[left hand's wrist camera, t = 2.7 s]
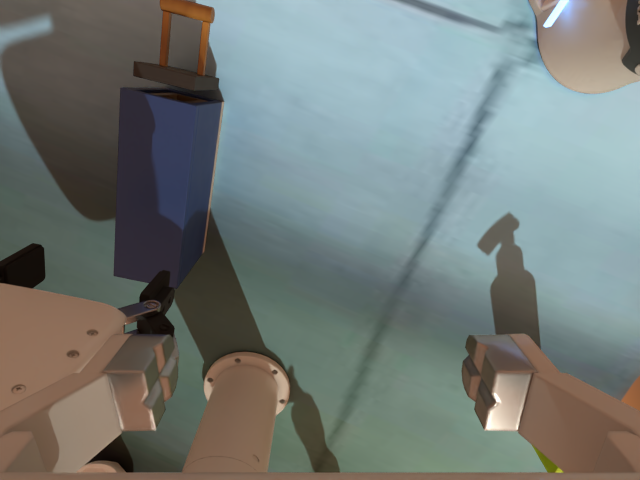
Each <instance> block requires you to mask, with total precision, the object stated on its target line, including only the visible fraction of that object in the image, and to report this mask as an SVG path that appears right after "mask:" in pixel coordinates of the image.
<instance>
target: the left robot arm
mask: <svg viewBox="0 0 640 480" xmlns="http://www.w3.org/2000/svg"><path fill="white" fill-rule="evenodd" d="M529 3H530V5H531V7H532V9H533V11H534V13H535V15H536V18H537V28H538V44H539V50H540V54H541V57H542V60H543V62H544V64H545V66H546V68H547V70H548V71H549V73H550V74H551V75H552V76H553V77H554V78H555V79H556V80H557V81H558V82H559V83H560V84H562V85H563V86H565V87H567V88H569V89H571V90H573V91H577V92H581V93H588V94H597V93H605V92H609V91H613V90H616V89H619V88H621V87H624V86H626V85H628V84H631V83H634V82H638V81H640V0H529ZM174 348H175V346H174V342H173V337H172V336H170V335H164V334H114V335H112V336H111V337H110V338H109V339H108V340H107V341H106V342H105V344H104V345H103V346H102V347H101V348H100V349H99V351H98V352H97V353H96V354H95V355H94V356H93V358H92V359H91V360H90V361H89V362H88V363H87V365H86V366H85V367H84V368H83V369H82V370H81V372H80V373H73V374H71V375H69V376H67V377H65V378H63V379H61V380H59V381H57V382H55V383H53V384H51V385H49V386H47V387H46V388H44V389H42V390H40V391H38V392H36V393H34V394H32V395H30V396H28V397H26V398H24V399H22V400H20V401H19V402H17V403H15V404H13V405H11V406H9V407H7V408H5V409H3V410H1V411H0V480H640V411H639V410H637V409H635V408H633V407H631V406H629V405H627V404H625V403H623V402H621V401H619V400H617V399H616V398H614V397H612V396H610V395H608V394H606V393H604V392H602V391H600V390H598V389H596V388H594V387H592V386H591V385H589V384H587V383H585V382H583V381H581V380H579V379H577V378H575V377H573V376H571V375H569V374H567V373H560V372H559V371H558V369H557V368H556V367H555V366H554V365H553V363H552V362H551V361H550V360H549V359H548V358H547V356H546V355H545V354H544V353H543V352H542V351H541V349H540V348H539V347H538V346H537V345H536V344H535V342H534V341H533V340H532V339H531V338H530V337H529V336H528V335H526V334H506V335H469V336H468V338H467V341H466V346H465V348H466V350H467V352H468V354H469V355H468V356H467V357H466V358H465V359H464V360H463V365H462V381H463V385H464V389H465V391H466V393H467V395H468V397H470V398H471V399H472V400H474V401H475V402H476V403H475V408H474V410H475V412H476V414H477V416H478V418H479V420H480V422H481V424H482V426H483V428H484V430H493V431H519V432H518V433H519V434H520V435H521V436H523V437H524V438H525V439H526V440H527V441H528V442H530V443H531V444H532V445H533V446H534V447H535V448H537V449H538V450H539V451H540V452H541V453H542V454H544V455H545V456H546V457H547V458H548V459H549V460H551V461H552V462H553V463H554V464H555V465H556V466H557V467H559V468H560V469H561V470H562V471H563V472H564V473H348V472H197V473H105V472H77V471H78V470H79V469H80V468H81V467H83V466H84V465H85V464H86V463H87V462H88V461H90V460H91V459H92V458H93V457H94V456H95V455H97V454H98V453H99V452H100V451H101V450H102V449H104V448H105V447H106V446H107V445H108V444H109V443H111V442H112V441H113V440H114V439H115V438H116V437H118V436H119V435H120V434H121V433H122V432H121V431H146V430H156V428H157V426H158V424H159V422H160V420H161V418H162V416H163V414H164V412H165V410H166V409H165V403H164V402H165V401H166V400H168V399H169V398H170V397H172V395H173V393H174V391H175V389H176V385H177V380H178V364H177V360H176V359H175V358H174V357H173V356H172V355H171V354H172V352H173V350H174Z"/></svg>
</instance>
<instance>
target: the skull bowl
mask: <svg viewBox="0 0 640 480" xmlns="http://www.w3.org/2000/svg"><path fill="white" fill-rule="evenodd" d="M77 472H105V473H126V472H125V471H124V469H123V468H122V467H121V466H120V465H119V464H118V463H117V462H111V461H94V462H91V463H88V464H86V465H84V466H83V467H81V468H80V469H79V470H78V471H77Z"/></svg>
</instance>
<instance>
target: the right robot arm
mask: <svg viewBox="0 0 640 480" xmlns="http://www.w3.org/2000/svg"><path fill="white" fill-rule="evenodd" d="M44 279H45V259H44V248H43V247H42V245H39V244H34V243H32V244H30V245H29V246H27V247H25V248H23V249H22V250H20V251H18V252H16V253H14V254H13V255H11V256H9V257H7V258H5V259H4V260H2V261H0V411H1V410H3V409H5V408H7V407H9V406H11V405H13V404H15V403H17V402H19V401H20V400H22V399H24V398H26V397H28V396H30V395H32V394H34V393H36V392H38V391H40V390H42V389H44V388H46V387H47V386H49V385H51V384H53V383H55V382H57V381H59V380H61V379H63V378H65V377H67V376H69V375H71V374H73V373H80V372H81V370H82V369H83V368H84V367H85V366H86V365H87V363H88V362H89V361H90V360H91V359H92V358H93V356H94V355H95V354H96V353H97V352H98V351H99V349H100V348H101V347H102V346H103V345H104V344H105V342H106V341H107V340H108V339H109V338H110V337H111V336H112V335H114V334H164V335H170V336H172V337H173V342H174V346H175V348H174V350H173V352H172V354H171V355H172V356H173V357H174V358H175V359H176V360H177V364H178V360H179V349H178V345H177V341H176V338H175V334H174V326H173V325H172V324H171V322H170V321H169V320H168V319H167V318H166V316H165V314H166V312H167V311H168V309H169V308H170V307H171V305H172V302H173V299H174V292H175V289H174V288H173V287H169V282H170V271H166V270H162V271H159V273H158V274H157V275H156V276H155V277H154V278H153V280H152V281H151V282H150V283H149V284H148V285H147V287H146V288H145V289H144V290H143V291H142V293H141V294H140V301H139V303H136V304H132V305H129V306H125V307H122V308H118V309H116V308H115V307H113V306H110V305H108V304H104V303H100V302H96V301H91V300H87V299H82V298H77V297H72V296H67V295H62V294H57V293H52V292H47V291H42V290H37V289H32V288H34V287H35V286H36V285H38V284H39V283H40V282H42V281H43V280H44ZM136 321H137V328H138V329H136V330H133V331H130V332H127V333H124V331H125V325H127V324H130V323H133V322H136ZM204 393H205V396H206V398H207V400H208V403H207V406H206V408H205V411H204V414H203V416H202V419H201V422H200V424H199V427H198V430H197V432H196V435H195V438H194V441H193V443H192V446H191V449H190V451H189V454H188V457H187V459H186V462H185V465H184V468H183V470H182V473H197V472H267V471H268V464H269V458H270V451H271V444H272V437H273V430H274V424H275V417H276V415H277V414H279V413H280V412H281V411H282V410H283V409H284V407H285V406H286V404H287V402H288V399H289V394H290V383H289V379H288V376H287V374H286V372H285V371H284V370H283V368H282V367H281V366H280V365H279V364H278V363H276V362H275V361H274V360H272V359H270V358H269V357H266V356H264V355H261V354H258V353H253V352H235V353H232V354H228V355H226V356H223V357H221V358H220V359H218V360H217V361H215V362H214V363H213V365H212V366H211V367H210V369H209V370H208V372H207V374H206V377H205V380H204Z"/></svg>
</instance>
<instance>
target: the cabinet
mask: <svg viewBox="0 0 640 480" xmlns="http://www.w3.org/2000/svg"><path fill="white" fill-rule="evenodd" d="M149 93H177V94H181V95H185V96H189V97H193V98H197V99H201V100H206V101H207V102H199V103H187V102H182V101H178V100H174V99H170V98H166V97H162V96H158V95H153V94H149ZM223 107H224V102H222V101H218V100H214V99H210V98H206V97H202V96H198V95H194V94H190V93H185V92H181V91H177V90H173V89H169V88H166V87H162V88H120V116H119V143H118V171H117V198H116V226H115V253H114V276H117V277H122V278H127V279H131V280H136V281H141V282H146V283H150V282H151V281H152V280H153V278H154V277H155V276H156V275H157V274H158V273H159V271H162V270H166V271H170V282H169V287H173V288H175V289H177V288H178V286H179V285H180V284H181V282H182V281H183V279H184V278H185V277H186V275H187V274H188V273H189V271H190V270H191V268H192V267H193V266H194V264H195V263H196V262H197V260H198V259H199V258H200V256H201V255H202V254H203V253H204V251H205V244H206V236H207V229H208V221H209V213H210V206H211V198H212V191H213V183H214V175H215V168H216V160H217V153H218V145H219V137H220V130H221V122H222V115H223Z"/></svg>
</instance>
